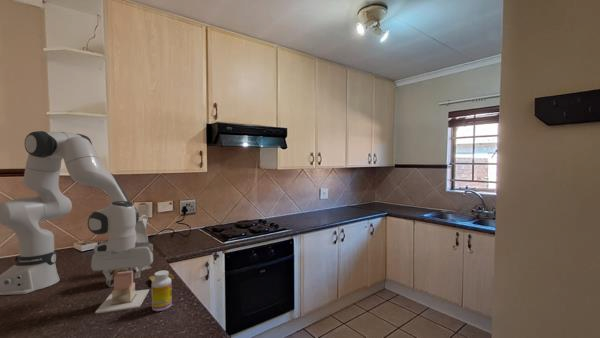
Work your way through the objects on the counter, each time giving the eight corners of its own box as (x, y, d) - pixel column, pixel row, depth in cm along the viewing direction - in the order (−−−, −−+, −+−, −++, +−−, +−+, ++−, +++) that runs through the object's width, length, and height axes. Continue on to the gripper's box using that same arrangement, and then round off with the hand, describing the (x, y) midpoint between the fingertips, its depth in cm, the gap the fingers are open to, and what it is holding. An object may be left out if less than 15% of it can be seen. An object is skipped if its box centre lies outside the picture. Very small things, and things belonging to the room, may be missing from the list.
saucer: (169, 276, 129) (169, 271, 129) (174, 282, 123) (174, 277, 122) (148, 281, 124) (148, 276, 123) (153, 287, 117) (153, 283, 117)
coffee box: (128, 277, 127) (127, 243, 127) (133, 280, 123) (132, 245, 123) (105, 283, 120) (104, 247, 120) (110, 288, 116) (109, 250, 116)
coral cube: (114, 290, 102) (113, 277, 102) (118, 284, 106) (118, 272, 106) (129, 288, 103) (128, 275, 103) (133, 283, 108) (133, 270, 108)
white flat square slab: (95, 313, 96) (95, 311, 96) (110, 295, 110) (110, 293, 110) (139, 307, 100) (139, 305, 100) (149, 290, 114) (149, 289, 114)
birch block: (112, 304, 101) (112, 291, 101) (117, 297, 107) (117, 284, 107) (130, 302, 103) (130, 289, 103) (135, 294, 109) (134, 282, 108)
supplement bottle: (173, 308, 99) (172, 273, 99) (152, 314, 96) (152, 278, 96) (170, 300, 105) (170, 268, 105) (151, 305, 101) (150, 271, 101)
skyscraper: (153, 269, 138) (152, 214, 137) (135, 274, 132) (134, 216, 131) (147, 265, 144) (146, 212, 143) (129, 269, 137) (128, 214, 137)
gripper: (154, 239, 110) (155, 272, 111) (96, 243, 105) (97, 278, 105) (151, 243, 104) (151, 278, 105) (88, 248, 99) (89, 285, 99)
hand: (123, 278), depth 105 cm, fingers open, 8 cm apart
